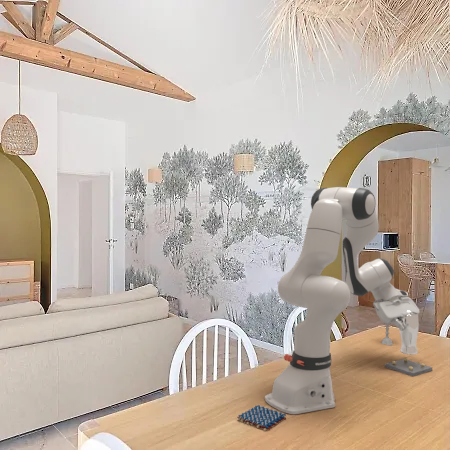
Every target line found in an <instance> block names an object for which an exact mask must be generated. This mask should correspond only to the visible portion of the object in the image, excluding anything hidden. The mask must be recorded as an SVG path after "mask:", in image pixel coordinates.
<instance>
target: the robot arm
mask: <svg viewBox="0 0 450 450" xmlns="http://www.w3.org/2000/svg"><path fill="white" fill-rule="evenodd" d="M376 205H377V204H376V198H375V195H374V193H373V192H372V191H371V190H370V189H367V188H364V187H359V188H358V187H357V188H356V187H344V186H336V187H321V188H319V189H316V191H315V192H314V193H313V195H312V196H311V199H310V206H311V211H310V215H309V218H308V220H307V225H306V230H305V236H304V240H303V245H302V247H301V248H302V249H301V252H300V254H299V256H298V258H297V261H296V262H295V264H294V265H293V267H292V268H291V269H290V270H289V271H288V272H286V273H285V274H284V275H282V277H280V279H279V281H278V284H277V293H278V296H279V298H280V299H281V300H282V301H284V302H286V303H288V304H289V305H291V306H295V307H299V308H304V309H306V311H307V312H306V317H305V319H304V320H301V321H300V322H299V323H298V324H297V325H296V326H295V328H294V343H293V344H294V347H293V349H294V350H293V352H292V354H291V355H290V354H287V353H284V356H283V360H284V361H287V362H289V365H288V366H287V367H286V368H285V369H284V370H283V371H282V372H281V373H280V374H279V375H277V377H276V378H275V379H274V381H273V386H272V391H271V392H270V393H268V394H265V396H264V401H265V402H266V403H267V404H268V405H269V406H271V407H272V408H275V409H276V410H277V411H279V412H282V413H284V414H289V415H299V414H304V413H305V414H306V413H309V412H316V411H320V410H321V411H323V410H326V409H331V408H335V407H336V402H335V400H336V398H335V394H334V390H333V382H332V376H331V373H332V372H331V366H332V354H331V352H330V351H331V332H332V329H333V328H332V327H333V325H334V322H335V320H336V318H337V317H338V316H339V315H340V314H341V313H342V312H344V311H346V309H347V308H348V306H349V304H350V302H351V298H352V297H351V295H353V296H357V297H363V296H365V295H366V294H368V293H372V295H373V298H374V301H373V302H372V303H373V304H372V305H373V307H374V311H375V312H376V314H377V316H378V318H379V319H380V321H381V322H382V323H383V324H384V323H388V322H392V323H391V324H392V325H393V326H394V327H396V328H398V330H399V329H400V330H399V332H400V331H403V330H405V329H406V327H405V326H404V325H403V324H401V323H400V322H399V317H400V313H401V314H405V315H409V313H408V312H406V311H413V312H417V313H418V315H420V314H421V313H420V312H421V311H420V308H419V307H418V306H417V304H416V303H415V301H414V300H413V299H412V298H410V297H409V292H407V291H405V290H402V289H398V288H396V287H395V286H394V285H393V284H391V282H390V281H392V279H393V277H394V274H395V270H394V268H393V267H392V265H391V264H390V263H389V261H388V260H386V259H384V258H376V259H373V260H372V261H368V262H365V263H363V264H362V265H361V266H360V267H359V262H358V260H359V259H358V257H359V255H360V253H361V251H362V250H364V249H365V247H366V246H367V245H368V244H369V243H371V242H372V241H373V240H374V239H375V238H376V236H377V235H378V233H379V228H380V225H379V224H380V223H379V219H378V216H377V211H376ZM343 221H345V224H346V233H345V236H344V238H343V240H342V255H343V262H344V270H345V276H344V277H345V278H344V279H345V281H343V280H341V279H338V278H336V277H333V276H327V275H321V274H322V272H323V270H324V269H325V268H326V267H327V266H329V265H330V264H332V263H334V262H335V261H336V259H337V258H338V253H339V247H340V243H341V242H340V241H341V236H342V232H343V231H342V230H343Z"/></svg>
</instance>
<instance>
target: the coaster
mask: <svg viewBox="0 0 450 450" xmlns="http://www.w3.org/2000/svg"><path fill="white" fill-rule="evenodd" d="M384 368H387V369H390V370H391V371H392V370H393V371H396V372H398V373H401V374H404V375H407V376H411V377H416V376H419V375H422V374H426V373H429V372H432V371H433V367H432V366H429V365H426V364H425V363H424V362H421V363H420V362H416V361H413V360H409V359H408V358H407V357H404V358H401V359H398V360H397V359H396V360H392V361H390V362H387V363H384Z"/></svg>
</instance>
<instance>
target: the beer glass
mask: <svg viewBox="0 0 450 450" xmlns="http://www.w3.org/2000/svg"><path fill="white" fill-rule="evenodd" d="M406 312H408V313H409V315H405V314H401V313H400V317H399V322H400V323H401V324H403V325H404V326H405V327H406V329H405V330H403V331H400V329H399V328H398V331H399V335H400V341H401V343H400V345H401V346H400V353H402V354H404V355H409V356H410V355H411V356H412V355H417V354H418V353H419V352H418V346H417V340H418V335H419V330H420V329H419V328H420V327H419V326H420V323H419V314H418V313H417V312H413V311H406Z"/></svg>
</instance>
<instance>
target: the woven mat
mask: <svg viewBox="0 0 450 450" xmlns="http://www.w3.org/2000/svg"><path fill="white" fill-rule="evenodd" d="M286 416H287V413H284V412H282V411H279V412H278V410H274V409H272V408H269V407H265V406H263V405H259V404H258V405H255V406H254V407H251V408H250V409H248V410H246V411H244V412H241V414H238V416H237V419H238V420H237V422H241V423H243V424H244V425H250V426H252V427H254V428H256V429H259V430H260V431H261V430H263V431H264V432H267V431H269V430H271V429H272V428H273V427H275V426H277V425H279V423H281V422H283V421H284V420H286V419H287V417H286Z"/></svg>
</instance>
